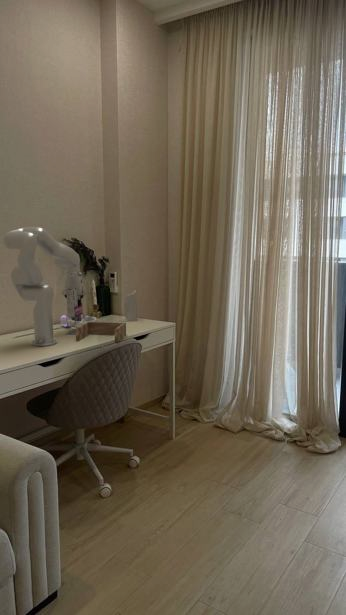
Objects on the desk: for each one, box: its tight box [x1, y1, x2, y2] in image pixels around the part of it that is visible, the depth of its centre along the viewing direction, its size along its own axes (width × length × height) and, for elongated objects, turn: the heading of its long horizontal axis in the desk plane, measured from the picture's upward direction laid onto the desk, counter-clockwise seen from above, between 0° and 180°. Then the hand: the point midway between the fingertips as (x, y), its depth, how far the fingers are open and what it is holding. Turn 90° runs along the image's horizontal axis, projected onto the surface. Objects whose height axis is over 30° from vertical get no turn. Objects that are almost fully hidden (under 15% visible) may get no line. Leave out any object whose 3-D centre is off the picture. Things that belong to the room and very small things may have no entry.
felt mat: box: [65, 328, 76, 336], centre depth 264 cm, size 12×8×1 cm, turn 171°
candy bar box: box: [66, 289, 84, 318], centre depth 262 cm, size 11×5×16 cm, turn 168°
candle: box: [115, 290, 138, 322], centre depth 299 cm, size 7×14×20 cm, turn 84°
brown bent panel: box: [75, 321, 127, 343], centre depth 248 cm, size 19×22×7 cm
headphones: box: [60, 312, 104, 329], centre depth 281 cm, size 22×8×22 cm
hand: (74, 305), depth 262 cm, fingers closed on candy bar box, 5 cm apart
